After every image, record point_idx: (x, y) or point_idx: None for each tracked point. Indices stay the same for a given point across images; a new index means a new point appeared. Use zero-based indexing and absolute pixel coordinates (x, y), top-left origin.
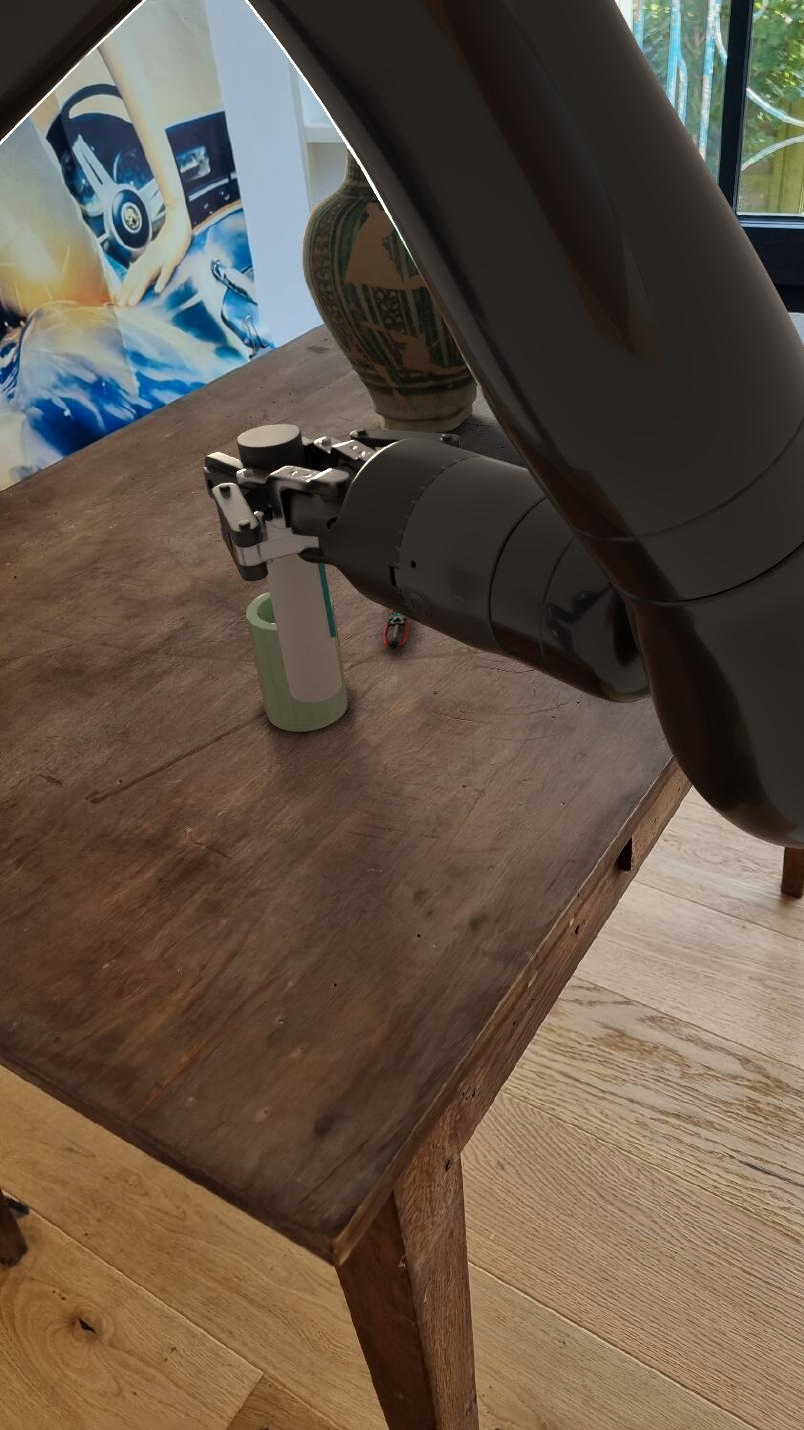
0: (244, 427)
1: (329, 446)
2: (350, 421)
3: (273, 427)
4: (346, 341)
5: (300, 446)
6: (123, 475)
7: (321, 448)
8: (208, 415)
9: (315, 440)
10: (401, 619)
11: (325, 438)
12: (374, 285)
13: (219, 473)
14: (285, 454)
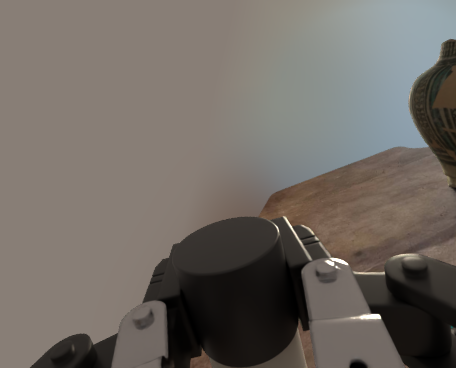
0: (372, 176)
1: (324, 292)
2: (428, 177)
3: (248, 223)
4: (430, 138)
5: (265, 276)
6: (312, 192)
7: (305, 292)
8: (357, 170)
9: (324, 249)
10: (453, 333)
11: (324, 266)
12: (452, 107)
13: (158, 280)
14: (223, 292)
